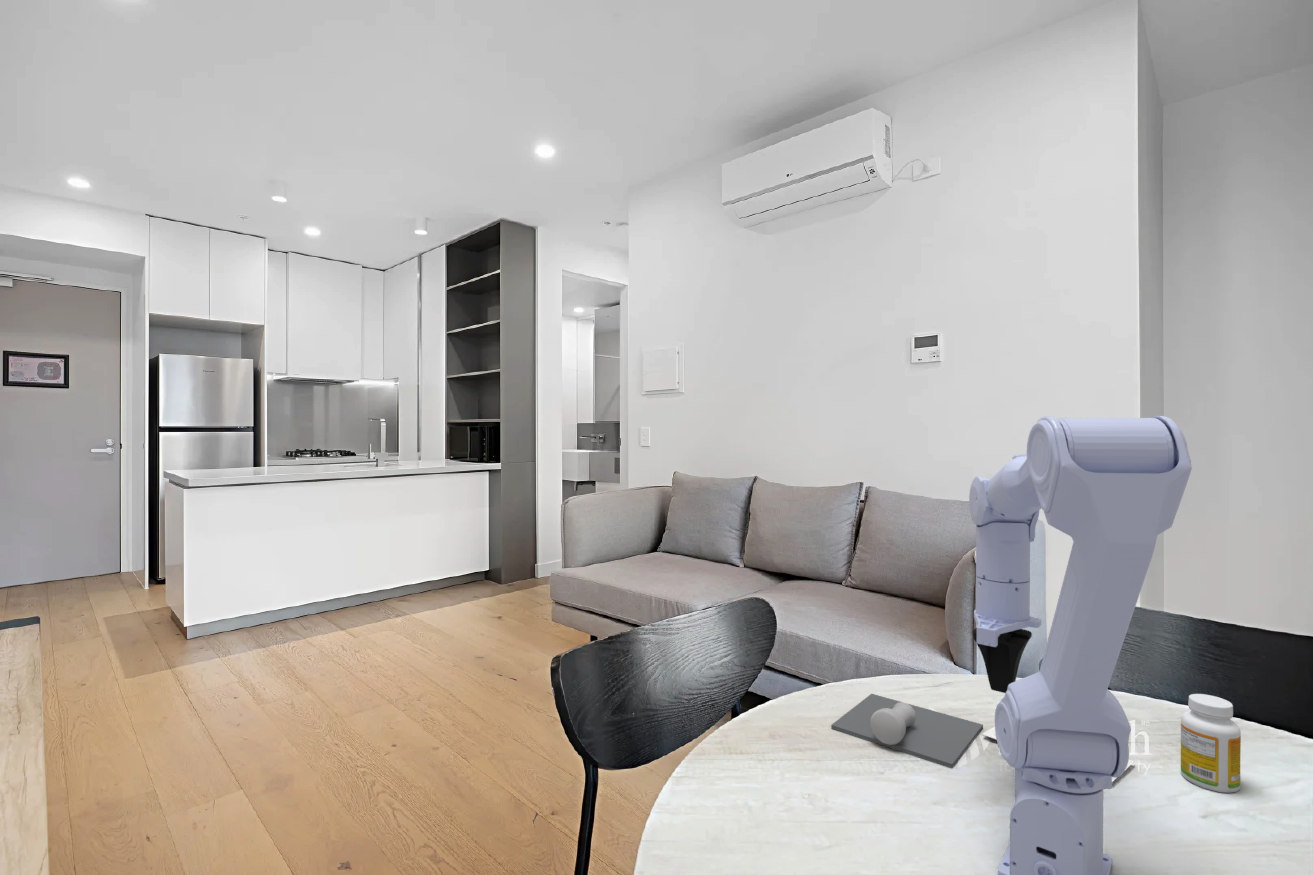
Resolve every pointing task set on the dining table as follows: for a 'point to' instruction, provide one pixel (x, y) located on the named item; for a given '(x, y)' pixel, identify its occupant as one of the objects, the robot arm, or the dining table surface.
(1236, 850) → the dining table surface
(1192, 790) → the dining table surface
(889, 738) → the rook chess piece
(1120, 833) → the dining table surface
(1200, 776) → the supplement bottle
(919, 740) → the mat
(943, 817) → the dining table surface
